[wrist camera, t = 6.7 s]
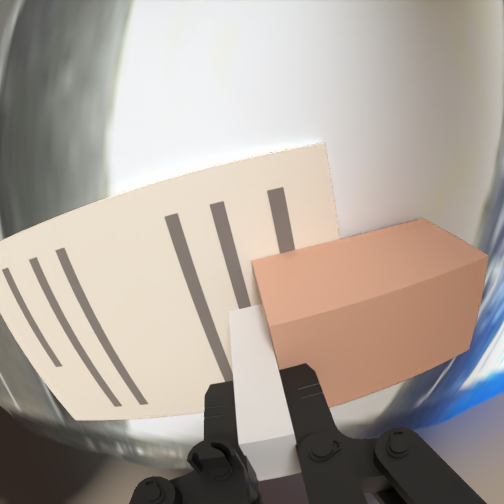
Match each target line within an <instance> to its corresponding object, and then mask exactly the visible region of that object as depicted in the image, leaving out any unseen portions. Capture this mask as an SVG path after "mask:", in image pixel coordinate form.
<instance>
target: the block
mask: <svg viewBox="0 0 504 504" xmlns="http://www.w3.org/2000/svg"><path fill="white" fill-rule="evenodd" d="M488 257H489V256H488V255H486V254H485V253H483V252H482V251H480V250H478V249H477V248H475V247H473V246H471V245H470V244H468V243H466V242H465V241H463V240H461V239H459V238H458V237H456V236H454V235H452V234H450V233H449V232H447V231H445V230H443V229H441V228H440V227H438V226H436V225H434V224H432V223H430V222H428V221H426V220H424V219H419V220H415V221H411V222H407V223H403V224H399V225H395V226H391V227H387V228H383V229H379V230H375V231H370V232H366V233H362V234H358V235H354V236H350V237H346V238H342V239H338V240H334V241H330V242H326V243H322V244H317V245H313V246H309V247H305V248H301V249H297V250H293V251H289V252H284V253H280V254H276V255H272V256H268V257H264V258H259V259H255V260H252V265H253V269H254V273H255V277H256V282H257V286H258V290H259V295H260V299H261V303H262V305H263V309H264V312H265V316H266V321H267V325H268V329H269V333H270V337H271V341H272V345H273V349H274V353H275V357H276V361H277V365H278V369H279V370H281V369H285V368H289V367H293V366H297V365H300V364H304V363H306V364H307V365H309V366H310V367H311V368H312V369H313V370H314V371H315V372H316V375H317V377H318V380H319V383H320V385H321V388H322V391H323V394H324V396H325V399H326V401H327V404H328V407H329V408H330V407H333V406H337V405H340V404H343V403H346V402H349V401H352V400H355V399H358V398H361V397H363V396H366V395H369V394H372V393H375V392H377V391H380V390H382V389H385V388H388V387H390V386H393V385H395V384H398V383H400V382H402V381H405V380H407V379H409V378H412V377H414V376H416V375H419V374H421V373H423V372H425V371H427V370H429V369H432V368H434V367H436V366H438V365H440V364H442V363H444V362H446V361H448V360H450V359H452V358H454V357H456V356H458V355H460V354H462V353H463V352H465V351H467V350H469V347H470V343H471V340H472V336H473V333H474V329H475V325H476V321H477V317H478V312H479V308H480V303H481V299H482V294H483V288H484V283H485V277H486V271H487V264H488Z"/></svg>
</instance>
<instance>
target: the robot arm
mask: <svg viewBox="0 0 504 504" xmlns="http://www.w3.org/2000/svg"><path fill="white" fill-rule="evenodd" d="M229 324H230V340H231V355H232V369H233V380H232V381H227V382H222V383H216V384H210V386H209V388H208V390H207V392H206V394H205V397H204V408H205V410H204V418H205V419H204V441H201V442H200V443H198V444H197V445H195V446H194V447H193V448H192V450H191V451H190V452H189V455H188V458H187V461H188V462H189V463H190V465H191V466H192V467H193V468H194V469H195V470H193V471H192V472H190V473H188V474H186V475H184V476H181V477H178V478H175V479H172V480H169V481H168V480H167V479H165V478H162V477H149V478H146V479H144V480H143V481H141V482H140V483H139V484H138V486H137V487H136V489H135V490H134V493H133V496H132V498H131V501H130V503H129V504H263V502H262V496H261V494H260V491H259V489H258V484H257V479H258V480H259V481H262V480H268V479H273V478H278V477H284V476H288V475H293V474H297V473H302V475H303V479H304V483H305V487H306V491H307V495H308V499H309V503H310V504H367V501H366V498H365V495H364V493H372V494H373V495H374V497H375V498H376V499H377V501H378V502H379V503H380V504H487V503H486V502H484V500H483V499H481V497H479V495H477V494H476V493H475V491H473V489H471V487H469V486H468V485H467V483H465V482H464V480H462V478H461V477H460V476H459V475H458V474H457V473H456V472H455V471H454V470H453V469H451V467H450V466H449V465H447V463H446V462H445V461H443V459H442V458H440V456H439V455H438V454H437V453H436V452H435V451H434V450H433V449H432V448H431V447H430V446H429V445H428V444H426V442H425V441H424V440H423V439H422V438H421V437H420V436H419V435H418V434H417V433H415V432H414V431H412V430H411V429H407V428H403V427H400V428H393V429H391V430H388V431H386V432H385V433H383V434H382V435H381V436H380V437H379V438H374V439H353V438H349V437H347V436H345V435H343V434H342V433H341V432H340V431H339V430H338V429H337V427H336V426H335V423H334V420H333V418H332V415H331V412H330V410H329V407H328V404H327V401H326V399H325V396H324V394H323V391H322V388H321V385H320V383H319V380H318V377H317V375H316V372H315V371H314V370H313V369H312V368H311V367H310V366H309V365H307V364H306V363H304V364H300V365H297V366H293V367H289V368H285V369H281V370H279V369H278V365H277V361H276V357H275V353H274V349H273V345H272V341H271V337H270V333H269V329H268V325H267V321H266V316H265V312H264V309H263V305H262V304H260V305H255V306H251V307H247V308H242V309H238V310H233V311H229Z"/></svg>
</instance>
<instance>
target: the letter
mask: <svg viewBox="0 0 504 504" xmlns="http://www.w3.org/2000/svg"><path fill="white" fill-rule="evenodd" d="M338 239H339V230H338V222H337V215H336V207H335V200H334V193H333V187H332V180H331V174H330V168H329V162H328V156H327V150H326V145H325V143H318V144H312V145H307V146H301V147H296V148H291V149H286V150H281V151H276V152H271V153H267V154H262V155H257V156H253V157H248V158H244V159H240V160H236V161H231V162H227V163H223V164H219V165H215V166H211V167H207V168H204V169H200V170H196V171H192V172H189V173H185V174H182V175H178V176H175V177H171V178H168V179H164V180H161V181H158V182H154V183H151V184H148V185H145V186H141V187H138V188H135V189H132V190H129V191H126V192H123V193H120V194H117V195H114V196H111V197H108V198H105V199H102V200H100V201H97V202H94V203H91V204H88V205H86V206H83V207H80V208H78V209H75V210H72V211H70V212H67V213H65V214H62V215H59V216H57V217H54V218H52V219H49V220H47V221H45V222H42V223H40V224H37V225H35V226H33V227H30V228H28V229H26V230H23V231H21V232H19V233H17V234H14V235H12V236H10V237H8V238H6V239H3V240H1V241H0V313H1V315H2V317H3V319H4V320H5V322H6V324H7V326H8V327H9V329H10V331H11V333H12V334H13V336H14V338H15V339H16V341H17V342H18V344H19V346H20V347H21V349H22V350H23V352H24V353H25V355H26V356H27V358H28V359H29V361H30V362H31V364H32V365H33V367H34V368H35V370H36V371H37V372H38V374H39V375H40V377H41V378H42V379H43V381H44V382H45V383H46V385H47V386H48V387H49V389H50V390H51V391H52V392H53V394H54V395H55V396H56V398H57V399H58V400H59V401H60V403H61V404H62V405H63V406H64V407H65V409H66V410H67V411H68V412H69V413H70V414H71V416H72V417H73V418H74V419H75V420H124V419H142V418H155V417H166V416H176V415H184V414H192V413H200V412H204V410H205V408H204V397H205V394H206V392H207V390H208V388H209V386H210V384H216V383H222V382H227V381H232V380H233V369H232V355H231V340H230V324H229V311H233V310H238V309H242V308H247V307H251V306H255V305H260V304H262V303H261V299H260V295H259V290H258V286H257V282H256V277H255V273H254V269H253V265H252V260H255V259H259V258H264V257H268V256H272V255H276V254H280V253H284V252H289V251H293V250H297V249H301V248H305V247H309V246H313V245H317V244H322V243H326V242H330V241H334V240H338Z"/></svg>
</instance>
